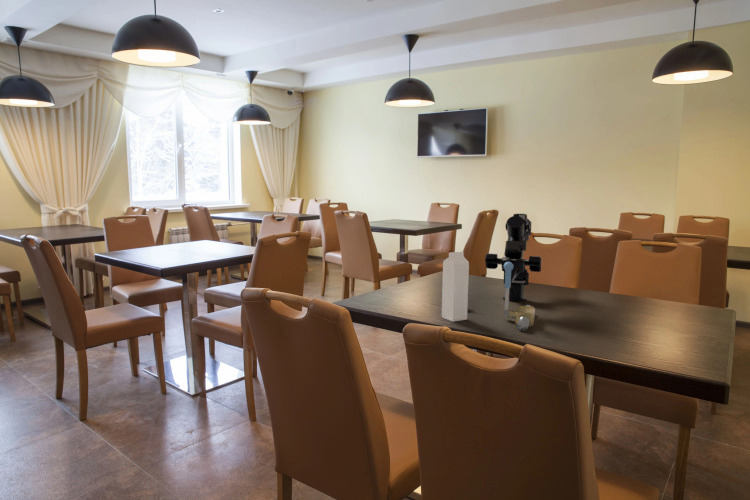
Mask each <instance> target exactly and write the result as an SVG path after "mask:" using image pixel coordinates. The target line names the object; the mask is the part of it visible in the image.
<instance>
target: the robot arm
mask: <svg viewBox="0 0 750 500" xmlns="http://www.w3.org/2000/svg"><path fill="white" fill-rule="evenodd" d="M505 231H506V232H507V240H506V241H505V247H504V254H503V255H504V256H502V257H501V258H499V257H498V253H487V254H486V255H485V257H484V261H485V268H486V269H489V270H496V269H498V265H501V271H502V272H503V284H504V285H505V269H504V264H505V263H506V262H511V263H512V264H513V269H512V270H511V286H510V288H509V301H512V302H515V303H516V302H522V301H526V300H527V298H526V297H524V291H525V290H524V287H525V286H528V285H530V284H529V283H530V282H529V279H530V273H529V272H528V269H529V270H530V272H535V273H540V272H541V271H542V257H541V256H540V255H539V256H538V255H537V256H536V255H529V258H527V259H525V258H524V252H526V250H527V242H528V241H529V239H530V236H531V235H532V221H531V220H530V219H528V214H526V213H513V215H512V216H510V217H508V219H506V223H505ZM528 266H529V268H528V269H526V267H528ZM502 299H503V300H505V296H503V297H502Z"/></svg>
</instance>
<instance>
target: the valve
mask: <svg viewBox="0 0 750 500" xmlns="http://www.w3.org/2000/svg"><path fill="white" fill-rule="evenodd" d="M535 312H536V308H535V307H534V306H531V305H530V304H525V305H522V304H521V305H520V306H518V307H517V308H516V310H513V309H512V310H509V309H508V317H515V325H516V328H517V329H518V330H519V331H520V332H526V331H528V329H529V328H530V327H532V326H534V323H535V314H536V313H535Z"/></svg>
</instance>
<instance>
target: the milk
mask: <svg viewBox="0 0 750 500" xmlns="http://www.w3.org/2000/svg"><path fill="white" fill-rule="evenodd" d="M464 255H465V254H464V251H452V252H449V253H448V257H447V258H445V259H444V260H443V261H442V265H443V266H442V285H441V286H442V291H441V294H442V295H441V318H442V319H445V320H447V321H450V322H460V321H465V320H468V303H469V297H468V296H469V275H470V274H469V273H470V271H469V270H470V262H469V261H468V259H466V257H465V256H464Z"/></svg>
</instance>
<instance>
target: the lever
mask: <svg viewBox="0 0 750 500" xmlns="http://www.w3.org/2000/svg"><path fill="white" fill-rule="evenodd" d="M504 269H505V284H504V289H505V293H504V294H505V295H504V297H505V299H504V313H503V315H504V317H503V318H508V317H509V303H510V300H509V288H510V286H511V270H512V269H513V264H512V263H511V262H506V263H505V264H504Z"/></svg>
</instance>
